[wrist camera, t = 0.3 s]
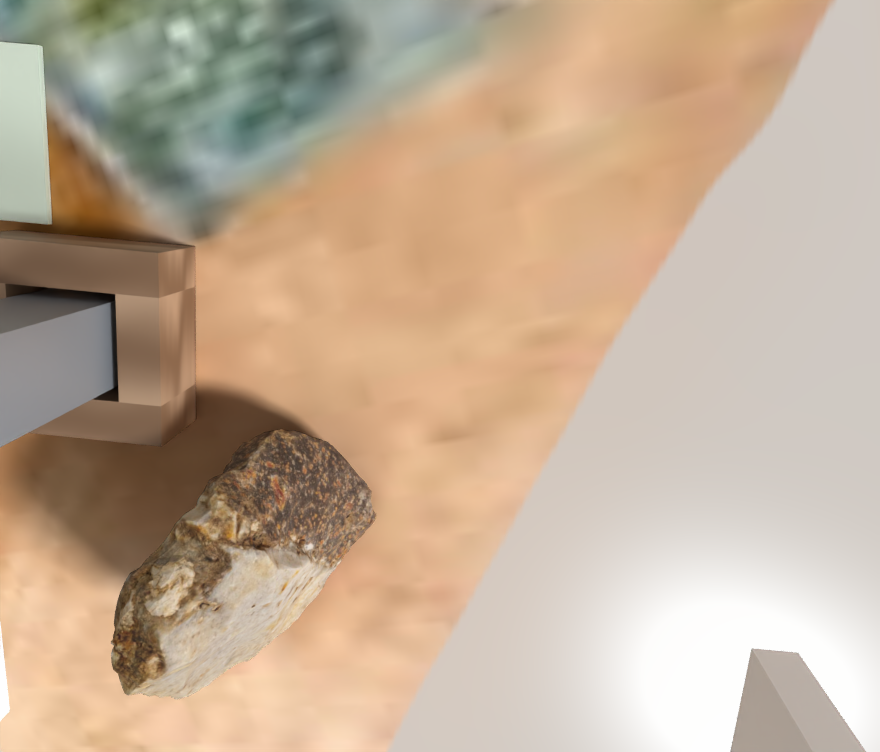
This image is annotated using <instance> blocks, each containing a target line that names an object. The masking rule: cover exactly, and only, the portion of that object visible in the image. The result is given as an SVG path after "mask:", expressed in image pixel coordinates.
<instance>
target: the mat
mask: <svg viewBox="0 0 880 752" xmlns="http://www.w3.org/2000/svg"><path fill="white" fill-rule="evenodd" d="M0 220H5V221H16V222H27V223H38V224H52V211H51V193H50V175H49V157H48V138H47V120H46V102H45V84H44V65H43V47H42V46H39V45H32V44H19V43H7V42H0Z"/></svg>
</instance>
